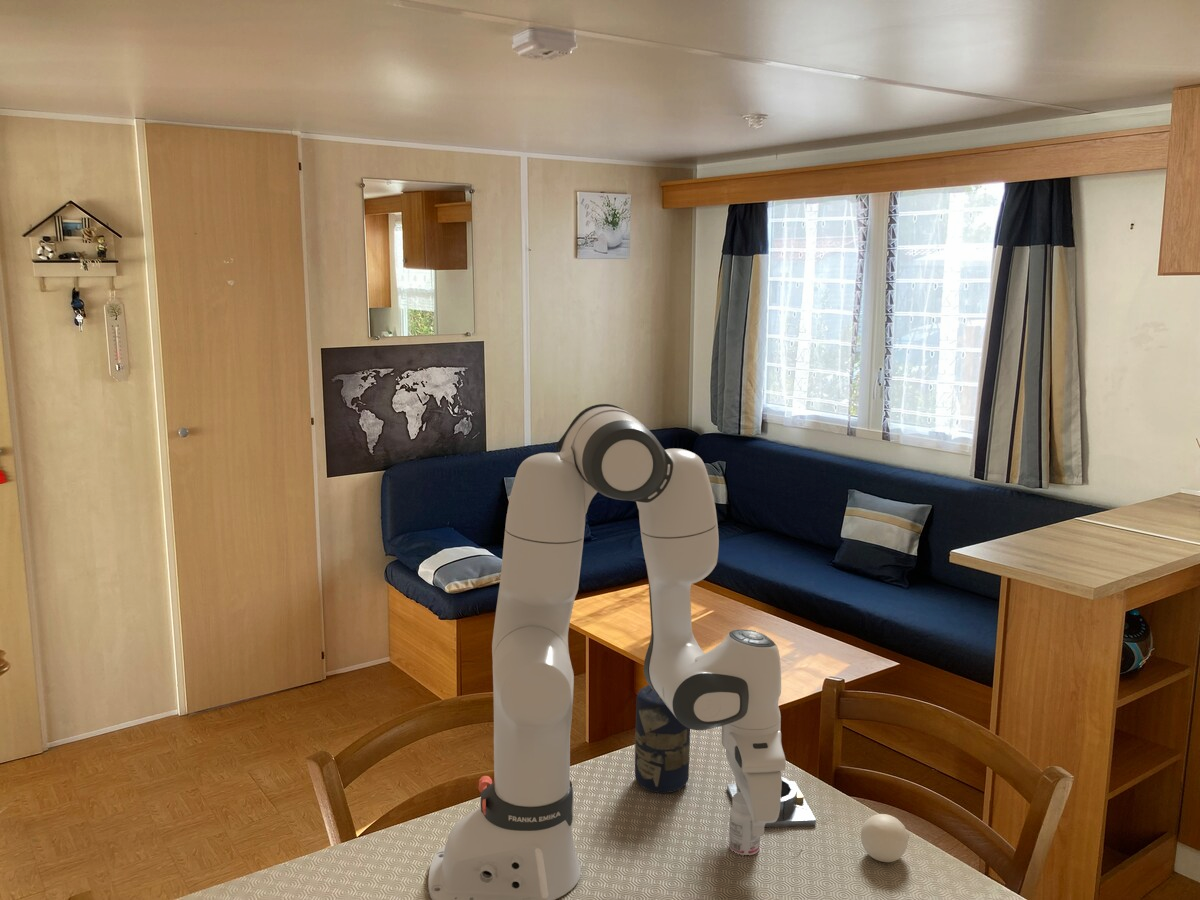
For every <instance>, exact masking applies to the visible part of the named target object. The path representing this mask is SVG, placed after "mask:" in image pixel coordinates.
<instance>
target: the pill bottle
mask: <svg viewBox="0 0 1200 900" xmlns="http://www.w3.org/2000/svg"><path fill="white" fill-rule="evenodd" d="M731 803H732V805H731V808H730V810H729V828H728V830H729V832H728V834H729V835H728V847H729V849H730V850H731V851H732V852H733V851H734V852H735V853H734V852H733V853H734V854H736V853H738V854H737V855H739V854H741V855H740V856H744V855H749V856H752V855H755V854H757V853H758V852H759V850H760V845H761V836H758V837H755V836H753V834H752V832H751V829H750V827H751V825H750V821H752V817H751V815H750V812H749V810H748V808H747V805H746V803H745V800H744V798H743V796H742V793H741V792H739V793H736V794H735V795H734V796H733V801H732V800H731Z"/></svg>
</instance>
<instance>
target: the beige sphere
mask: <svg viewBox="0 0 1200 900" xmlns="http://www.w3.org/2000/svg"><path fill="white" fill-rule="evenodd" d="M906 829H907V827H906V826H905V825H904V824H903V823H902V822H901V821H900V820H899V819H898V818H897V817H895V816H893V815H890V814H886V813H878V814H877V813H876V814H874V815H872V816H870V817H869V818H867V819H866V820H865V822H864V823H863V825H862V827H861V830H860V842H861V844H862V847H863V849H864V850H865V852H866V853H867V854H868V855H869V856H870V857H871V858H873V859H874V860H876V861H878V862H881V863H882V862H883V863H892V862H893V863H894V862H895V861H897V860H899V859H900V858H901V857H902V856H903V855H904V854H905V853H906V850H907V848H908V845H909V839H910V836H909V832H908V831H907V830H906Z"/></svg>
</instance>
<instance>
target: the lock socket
mask: <svg viewBox="0 0 1200 900" xmlns="http://www.w3.org/2000/svg"><path fill="white" fill-rule="evenodd" d="M781 778H782V788H781V802H780V812H779V817H778V819H777V820H776V822H773V823H766V824H765V826H764V827H771V828H790V827H789V826H794V827H811V826H812V825H816V823H817V820H816V817H815V816H814V814H813V812H812V810H811V808H810V807H809V804H808V803H807V801H806V799H805V797H804V794H803V793H802V792H801V789H800V788H799V786H798V784H797V782H796V781H795V780H789V779H788V778H786V777H784V776H781ZM726 790H727V793H728V795H729V797H731V798H730V800H731V802H732V801H733V796H734V795H735V794H736V793H737V787H736V782H734V783H733V782H732V783H727V784H726ZM810 825H811V826H810Z"/></svg>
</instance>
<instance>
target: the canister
mask: <svg viewBox="0 0 1200 900" xmlns="http://www.w3.org/2000/svg"><path fill="white" fill-rule="evenodd" d="M635 704H636V705H635V708H636V709H635V735H634V738H635V739H634V776H635V780H636V781H637V783H638V784H639V786H641V787H642V788H644V789H646V790H648V791H651V792H655V793H672V792H676V791H678V790H681V789H682V788H684V787H685V786H686V784H687V783H688V781H689V777H690V749H691V747H690V746H691V729H689V728H687V727H685V726H684V725H682V724H681V723H680V722H679V721H678V720H677V719H676V717H675V716H674V715H673V713H672V712H671V711H670V710H669V708H668V707H667V706H666V704H665V703H664V702H663V700H662V699H661V698H660V696H659V695H658V694H657V693H656V692H655V691H654V690H653V689H652V688H651V687H650V686H649V685H645V686H643V687H642V688H641V689H639V691H638V692H637V694H636V702H635Z"/></svg>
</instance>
